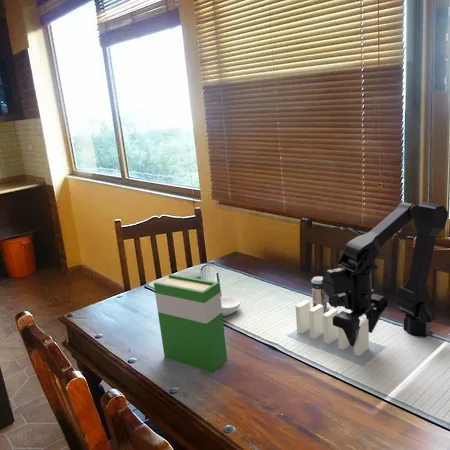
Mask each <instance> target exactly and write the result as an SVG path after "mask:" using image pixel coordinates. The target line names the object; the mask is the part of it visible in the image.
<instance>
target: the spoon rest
mask: <svg viewBox="0 0 450 450" xmlns="http://www.w3.org/2000/svg"><path fill="white" fill-rule="evenodd" d="M221 306H222V315H223V317H227V316H230V315H231V314H233V313H235V312H236V311H237V310H238V309H239V308H240V306H241V300H240V299H239V298H236V297H232V296H221Z"/></svg>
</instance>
